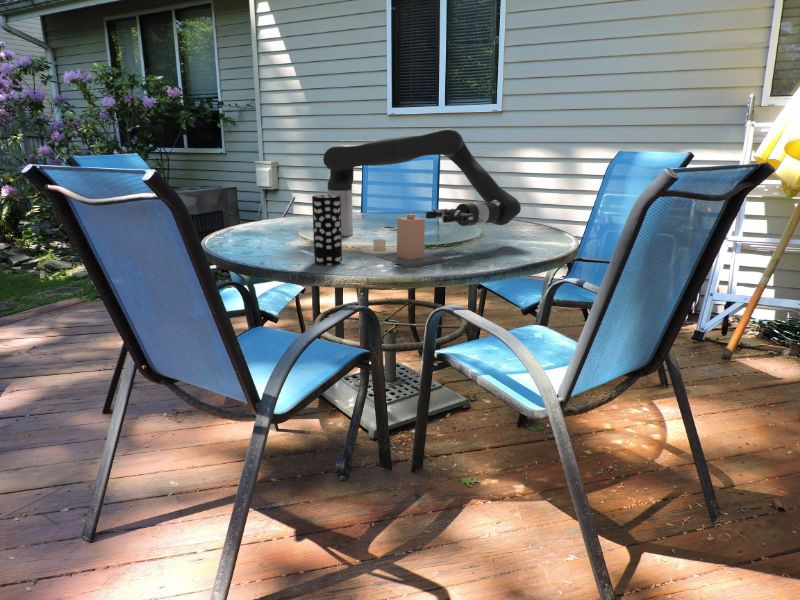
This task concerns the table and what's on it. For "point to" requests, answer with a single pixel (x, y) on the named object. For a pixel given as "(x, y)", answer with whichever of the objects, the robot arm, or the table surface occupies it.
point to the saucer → (388, 250)
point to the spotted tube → (327, 229)
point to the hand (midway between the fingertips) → (435, 217)
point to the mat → (414, 262)
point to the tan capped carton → (410, 237)
